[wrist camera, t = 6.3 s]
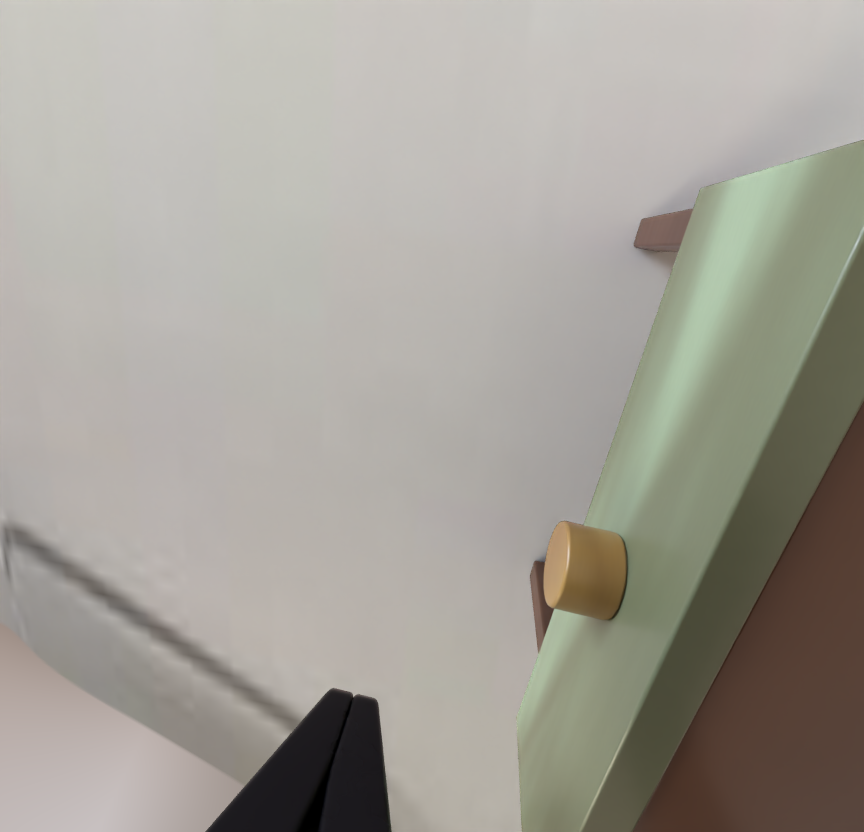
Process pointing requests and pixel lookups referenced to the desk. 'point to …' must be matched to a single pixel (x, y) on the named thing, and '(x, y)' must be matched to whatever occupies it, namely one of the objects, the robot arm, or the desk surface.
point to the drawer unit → (777, 671)
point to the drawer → (697, 486)
